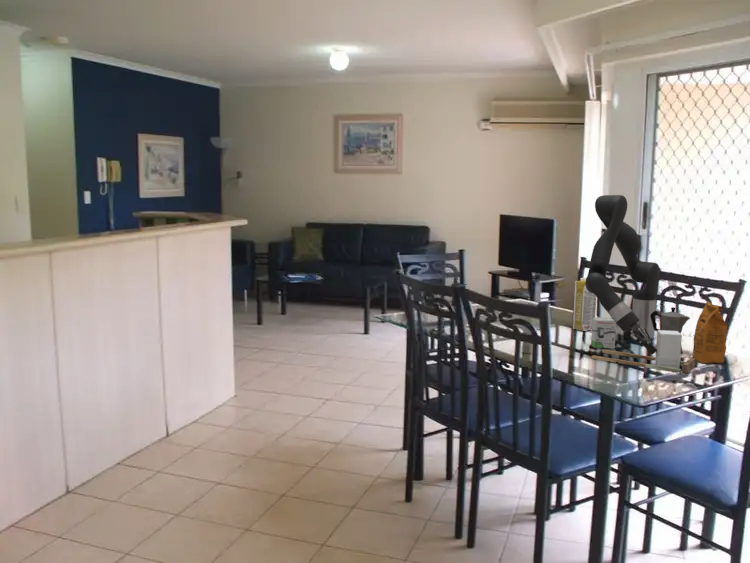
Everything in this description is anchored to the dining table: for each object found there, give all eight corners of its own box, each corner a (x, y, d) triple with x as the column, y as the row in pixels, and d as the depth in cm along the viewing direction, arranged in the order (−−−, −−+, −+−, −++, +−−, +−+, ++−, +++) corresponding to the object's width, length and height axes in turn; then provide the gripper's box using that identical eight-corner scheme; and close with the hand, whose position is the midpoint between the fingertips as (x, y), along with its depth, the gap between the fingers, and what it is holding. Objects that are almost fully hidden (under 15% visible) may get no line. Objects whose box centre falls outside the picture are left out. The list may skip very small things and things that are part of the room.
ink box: (593, 348, 277) (594, 319, 275) (590, 345, 282) (592, 317, 280) (615, 348, 276) (616, 320, 275) (611, 345, 281) (613, 317, 280)
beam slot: (603, 351, 271) (603, 344, 270) (695, 365, 250) (695, 357, 250) (591, 358, 260) (591, 350, 260) (686, 373, 240) (686, 365, 239)
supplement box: (679, 369, 246) (682, 334, 244) (658, 367, 248) (660, 333, 246) (675, 363, 253) (678, 330, 251) (654, 362, 255) (656, 329, 253)
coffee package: (715, 356, 264) (720, 301, 260) (727, 365, 251) (732, 307, 248) (688, 355, 265) (692, 300, 262) (699, 364, 253) (703, 306, 250)
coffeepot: (691, 352, 270) (695, 308, 268) (682, 356, 264) (685, 311, 261) (653, 345, 281) (656, 303, 279) (643, 349, 275) (646, 305, 272)
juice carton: (582, 327, 317) (584, 276, 314) (597, 329, 311) (599, 278, 308) (570, 329, 311) (572, 277, 308) (585, 332, 305) (587, 279, 302)
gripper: (625, 312, 250) (657, 350, 245) (636, 307, 261) (667, 343, 255) (610, 324, 254) (641, 362, 249) (621, 319, 265) (651, 355, 259)
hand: (654, 352), depth 252 cm, fingers closed
